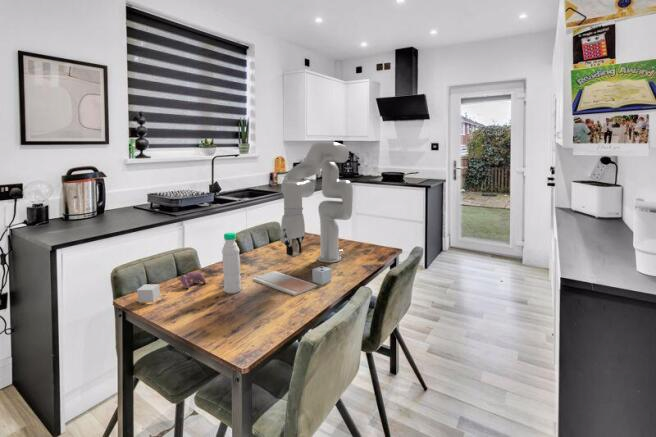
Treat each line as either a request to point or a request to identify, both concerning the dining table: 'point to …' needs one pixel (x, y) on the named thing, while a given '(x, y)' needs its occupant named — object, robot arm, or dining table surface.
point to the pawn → (295, 247)
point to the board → (285, 283)
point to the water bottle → (231, 264)
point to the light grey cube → (148, 293)
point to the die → (321, 275)
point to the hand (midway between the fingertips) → (294, 253)
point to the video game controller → (192, 275)
